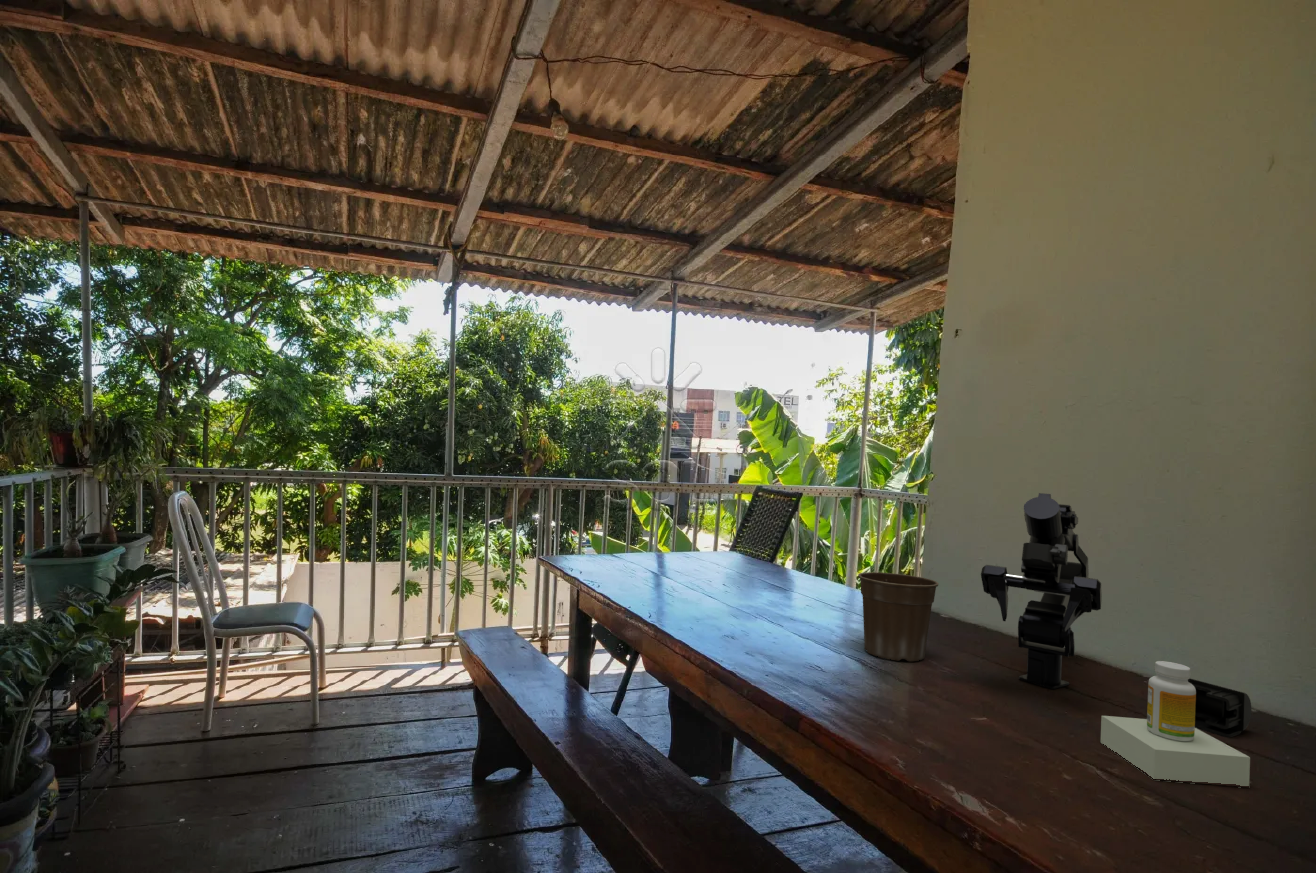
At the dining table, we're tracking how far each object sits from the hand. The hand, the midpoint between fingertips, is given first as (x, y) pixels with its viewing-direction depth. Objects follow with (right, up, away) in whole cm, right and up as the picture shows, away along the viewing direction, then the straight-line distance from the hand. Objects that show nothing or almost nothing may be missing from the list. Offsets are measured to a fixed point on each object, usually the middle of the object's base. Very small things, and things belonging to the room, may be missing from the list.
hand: (1033, 624), depth 118 cm
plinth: (+7, -13, -22) cm, 27 cm away
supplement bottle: (+7, -10, -22) cm, 25 cm away
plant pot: (-15, -14, +27) cm, 34 cm away
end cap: (+26, -15, -5) cm, 30 cm away
